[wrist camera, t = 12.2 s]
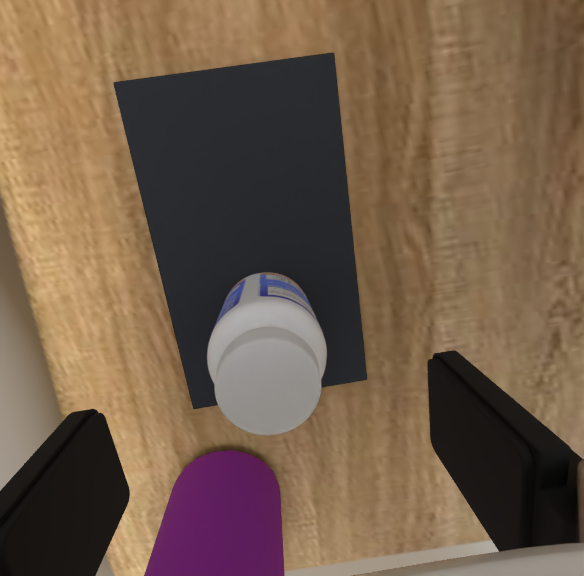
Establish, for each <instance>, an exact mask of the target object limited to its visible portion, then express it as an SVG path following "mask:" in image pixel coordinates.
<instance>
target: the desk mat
mask: <svg viewBox="0 0 584 576" xmlns="http://www.w3.org/2000/svg"><path fill="white" fill-rule="evenodd" d="M114 88H115V92H116V96H117V100H118V104H119V108H120V112H121V116H122V120H123V124H124V128H125V132H126V136H127V141H128V145H129V149H130V153H131V157H132V161H133V165H134V169H135V173H136V177H137V181H138V185H139V189H140V193H141V198H142V202H143V206H144V210H145V214H146V218H147V222H148V226H149V230H150V234H151V238H152V242H153V246H154V251H155V255H156V259H157V263H158V267H159V271H160V275H161V279H162V283H163V287H164V291H165V295H166V299H167V304H168V308H169V312H170V316H171V320H172V324H173V328H174V332H175V336H176V340H177V344H178V348H179V352H180V356H181V361H182V365H183V369H184V373H185V377H186V381H187V385H188V389H189V393H190V397H191V401H192V405H193V409H197V408H203V407H209V406H215V405H218V403H217V401H216V396H215V387H214V386H215V384H214V383H213V381H212V378H211V376H210V373H209V369H208V362H207V352H208V344H209V341H210V337H211V334H212V331H213V329H214V326H215V324H216V322H217V319H218V317H219V314H220V312H221V310H222V307H223V305H224V302H225V300H226V298H227V296H228V294H229V292H230V291H231V290H232V288H233V287H234V286H235V285H236V284H237V283H238V282H240V281H241V280H242V279H244V278H246V277H248V276H250V275H253V274H257V273H267V272H268V273H277V274H281V275H283V276H286V277H288V278H289V279H291V280H293V281H294V282H295V283H297V284H298V285H299V287H300V288H301V289H302V290H303V292H304V294H305V295H306V297H307V299H308V301H309V303H310V306H311V308H312V310H313V312H314V314H315V316H316V319H317V321H318V323H319V325H320V327H321V330H322V332H323V335H324V338H325V342H326V348H327V359H326V366H325V371H324V374H323V376H322V379H321V387H326V386H332V385H338V384H344V383H350V382H356V381H362V380H367V373H366V363H365V353H364V343H363V333H362V323H361V314H360V304H359V294H358V284H357V274H356V264H355V255H354V245H353V235H352V225H351V215H350V205H349V195H348V186H347V176H346V166H345V156H344V146H343V136H342V127H341V117H340V107H339V97H338V87H337V77H336V68H335V58H334V53H326V54H319V55H312V56H304V57H297V58H290V59H282V60H275V61H268V62H260V63H253V64H246V65H238V66H231V67H223V68H216V69H209V70H201V71H194V72H187V73H179V74H172V75H165V76H157V77H150V78H142V79H135V80H128V81H120V82H114Z"/></svg>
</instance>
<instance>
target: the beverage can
mask: <svg viewBox="0 0 584 576" xmlns="http://www.w3.org/2000/svg"><path fill="white" fill-rule="evenodd" d="M144 576H284V558H283V538H282V518H281V498H280V489H279V484H278V482H277V479H276V477H275V475H274V473H273V471H272V470H271V469H270V468H269V467H268V466H267V465H266V464H265V463H264V462H263V461H262V460H260V459H258V458H256V457H254V456H252V455H250V454H248V453H243V452H238V451H233V450H229V451H216V452H212V453H209V454H206V455H204V456H201V457H198V458H197V459H196V460H194V461H193V462H192V463H190V464H189V465H187V466H186V467H185V468H184V470H183V471H182V473H181V474H180V475H179V477H178V478H177V480H176V482H175V484H174V486H173V489H172V492H171V495H170V498H169V501H168V504H167V507H166V510H165V513H164V517H163V520H162V523H161V526H160V529H159V532H158V535H157V538H156V541H155V544H154V547H153V550H152V553H151V557H150V560H149V563H148V566H147V569H146V572H145V575H144Z"/></svg>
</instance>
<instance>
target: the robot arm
mask: <svg viewBox="0 0 584 576" xmlns="http://www.w3.org/2000/svg"><path fill="white" fill-rule="evenodd" d="M428 390H429V414H430V437H431V443H432V446H433V448H434V451H435V452H436V454H437V455H438V457H439V459H440V460H441V462H442V463H443V465H444V466H445V468H446V469H447V471H448V473H449V474H450V476H451V477H452V479H453V480H454V482H455V483H456V485H457V487H458V488H459V490H460V491H461V493H462V494H463V496H464V498H465V499H466V501H467V502H468V504H469V505H470V507H471V508H472V510H473V512H474V513H475V515H476V516H477V518H478V519H479V521H480V522H481V524H482V526H483V527H484V529H485V530H486V532H487V533H488V535H489V536H490V538H491V540H492V541H493V543H494V544H495V546H496V547H497V549H498V550H499V552H494V553H488V554H480V555H474V556H467V557H460V558H454V559H447V560H441V561H435V562H430V563H424V564H418V565H412V566H406V567H400V568H394V569H388V570H383V571H377V572H371V573H365V574H360V575H353V576H584V459H582V458H581V457H580V456H578V455H577V454H576V453H575V452H574V451H573V450H571V449H570V447H569V446H568V445H567V444H566V443H565V442H563V441H562V440H561V439H560V438H559V437H558V436H556V435H555V434H554V433H553V432H552V431H550V430H549V429H548V428H547V427H546V426H544V425H543V424H542V423H541V422H540V421H539V420H537V419H536V418H535V417H534V416H533V415H531V414H530V413H529V412H528V411H527V410H526V409H524V408H523V407H522V406H521V405H520V404H518V403H517V402H516V401H515V400H514V399H513V398H511V397H510V396H509V395H508V394H507V393H505V392H504V391H503V390H502V389H501V388H499V387H498V386H497V385H496V384H495V383H494V382H492V381H491V380H490V379H489V378H488V377H486V376H485V375H484V374H483V373H482V372H481V371H479V370H478V369H477V368H476V367H475V366H473V365H472V364H471V363H470V362H469V361H468V360H466V359H465V358H464V357H463V356H462V355H460V354H459V353H458V352H457V351H455V350H454V351H447V352H441V353H435V354H434V355H433V359H429V360H428ZM129 495H130V492H129V486H128V484H127V481H126V478H125V475H124V472H123V469H122V466H121V463H120V460H119V457H118V454H117V451H116V448H115V445H114V442H113V439H112V436H111V433H110V430H109V427H108V424H107V421H106V418H105V416H104V415H103V414H102V413H98V411H97V410H95V409H90V410H83V411H77V412H72V413H71V414H69V415H68V416H67V417H66V418H65V420H64V421H63V422H62V423H61V424H60V425H59V426H58V427H57V429H56V430H55V431H54V432H53V433H52V434H51V435H50V436H49V437H48V439H47V440H46V441H45V442H44V443H43V444H42V445H41V446H40V447H39V449H38V450H37V451H36V452H35V453H34V454H33V455H32V456H31V457H30V459H29V460H28V461H27V462H26V463H25V464H24V465H23V466H22V468H21V469H20V470H19V471H18V472H17V473H16V474H15V475H14V476H13V477H12V479H11V480H10V481H9V482H8V483H7V484H6V485H5V487H3V489H2V490H1V491H0V576H95V575H96V573H97V571H98V568H99V566H100V564H101V562H102V559H103V557H104V555H105V553H106V551H107V548H108V546H109V544H110V542H111V540H112V537H113V535H114V533H115V531H116V529H117V526H118V524H119V522H120V520H121V518H122V515H123V513H124V511H125V509H126V507H127V504H128V501H129Z"/></svg>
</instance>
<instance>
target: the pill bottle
mask: <svg viewBox="0 0 584 576" xmlns="http://www.w3.org/2000/svg"><path fill="white" fill-rule="evenodd" d="M326 359H327V348H326V342H325V338H324V335H323V332H322V330H321V327H320V325H319V323H318V321H317V319H316V316H315V314H314V312H313V310H312V308H311V306H310V303H309V301H308V299H307V297H306V295H305V294H304V292H303V290H302V289H301V288H300V287H299V285H298V284H297V283H295V282H294V281H293V280H291V279H289V278H288V277H286V276H283V275H281V274H277V273H268V272H267V273H257V274H253V275H250V276H248V277H246V278H244V279H242V280H241V281H240V282H238V283H237V284H236V285H235V286H234V287H233V288H232V290H231V291H230V292H229V294H228V296H227V298H226V300H225V302H224V305H223V307H222V310H221V312H220V314H219V317H218V319H217V322H216V324H215V326H214V329H213V331H212V334H211V337H210V341H209V344H208V352H207V362H208V369H209V373H210V376H211V378H212V381H213V383H214V384H215V386H214V387H215V396H216V401H217V403H218V406H219V408H220V410H221V411H222V413H223V414H224V416H225V417H226V418H227V419H228V420H229V421H230V422H231V423H232V424H234V425H235V426H237V427H238V428H240V429H242V430H244V431H246V432H249V433H252V434H257V435H277V434H281V433H285V432H288V431H290V430H292V429H294V428H296V427H298V426H299V425H301V424H302V423H303V422H304V421H305V420H307V419H308V417H309V416H310V415H311V414H312V412H313V411H314V409H315V408H316V406H317V404H318V401H319V398H320V393H321V379H322V376H323V374H324V371H325V366H326Z"/></svg>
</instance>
